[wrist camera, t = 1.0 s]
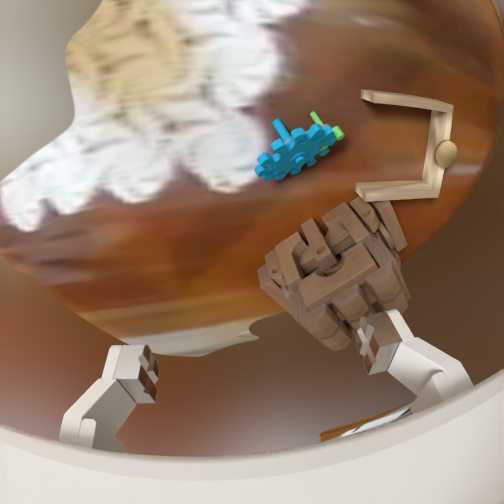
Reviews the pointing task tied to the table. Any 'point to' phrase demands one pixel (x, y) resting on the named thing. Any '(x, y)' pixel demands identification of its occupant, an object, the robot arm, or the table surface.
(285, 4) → the table surface
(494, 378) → the robot arm
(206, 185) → the table surface
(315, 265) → the wooden puzzle
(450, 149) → the drawer
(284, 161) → the gear
